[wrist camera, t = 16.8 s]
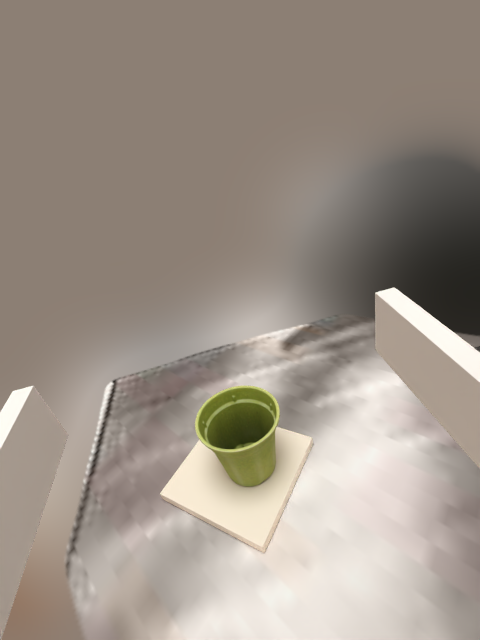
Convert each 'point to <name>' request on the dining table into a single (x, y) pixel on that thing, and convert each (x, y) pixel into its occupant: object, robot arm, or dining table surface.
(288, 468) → the tile
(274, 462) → the plant pot
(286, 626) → the dining table surface
